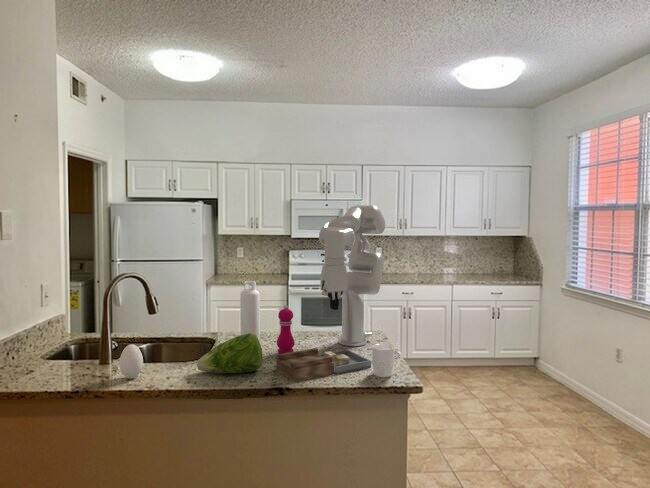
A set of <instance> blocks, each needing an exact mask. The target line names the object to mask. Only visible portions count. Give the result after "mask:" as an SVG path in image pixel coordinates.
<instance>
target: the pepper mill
mask: <svg viewBox="0 0 650 488" xmlns="http://www.w3.org/2000/svg"><path fill="white" fill-rule="evenodd" d="M293 318H294V313H293V311H292V310H291V309H289V306H288V305H284V306H283V308H282V309H280V310H279V312H278V319H279V325H280V331H279V335H278V337H277V339H276V346H277V347H278V349H277V355H278V354H284V353H290V352H294V348H293V347H294V346H295V338H294V336H293V334H292V331H291V329H292V328H291V327H292V325H293V321H292V320H293Z"/></svg>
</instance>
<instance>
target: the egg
mask: <svg viewBox="0 0 650 488" xmlns="http://www.w3.org/2000/svg"><path fill="white" fill-rule="evenodd" d="M143 366H144V359H143V354H142V352H141V350H140V348H139V347H138V346H137V345H135V344H133V343H132V344H128V345H126V346H125V347H124V349H123V351H122V352H121V354H120V356H119V371H120V372H121V374H122V375H123V376H124V377H125V378H126V379H129V380H131V379H132V380H133V379H135V378H137V376H139V375H140V373H141V372H142V369H143Z"/></svg>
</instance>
